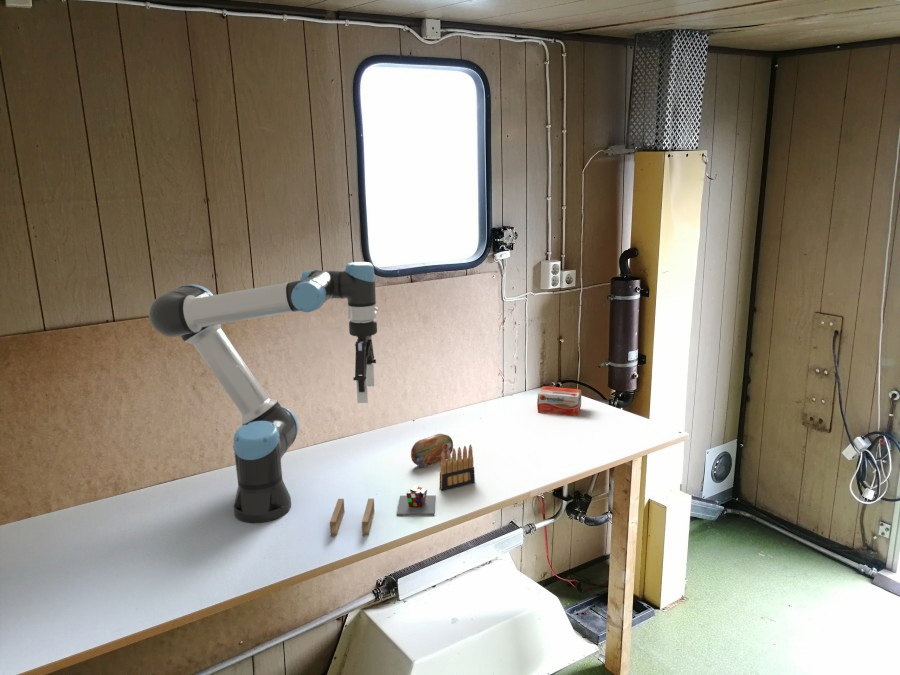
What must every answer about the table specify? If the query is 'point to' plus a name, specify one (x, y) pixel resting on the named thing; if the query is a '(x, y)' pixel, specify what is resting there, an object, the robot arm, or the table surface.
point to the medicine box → (559, 401)
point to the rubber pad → (416, 511)
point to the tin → (431, 449)
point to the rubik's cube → (416, 496)
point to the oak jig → (339, 514)
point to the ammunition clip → (456, 469)
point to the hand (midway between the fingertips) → (366, 394)
